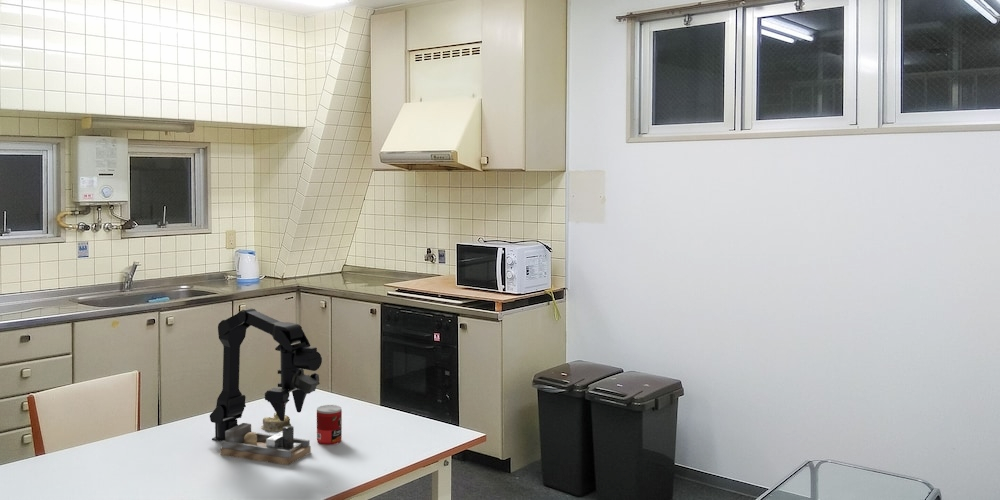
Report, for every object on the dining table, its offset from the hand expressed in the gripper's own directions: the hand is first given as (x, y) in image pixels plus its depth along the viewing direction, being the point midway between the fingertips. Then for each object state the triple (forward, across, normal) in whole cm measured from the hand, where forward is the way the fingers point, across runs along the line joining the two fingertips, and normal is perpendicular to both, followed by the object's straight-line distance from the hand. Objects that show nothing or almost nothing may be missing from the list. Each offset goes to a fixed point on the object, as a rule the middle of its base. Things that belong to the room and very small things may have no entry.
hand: (290, 416), depth 242 cm
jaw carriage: (+10, -1, +2) cm, 10 cm away
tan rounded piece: (+10, -1, +14) cm, 17 cm away
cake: (+13, +22, +20) cm, 33 cm away
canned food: (+12, +16, -4) cm, 21 cm away
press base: (+12, -1, +8) cm, 15 cm away
